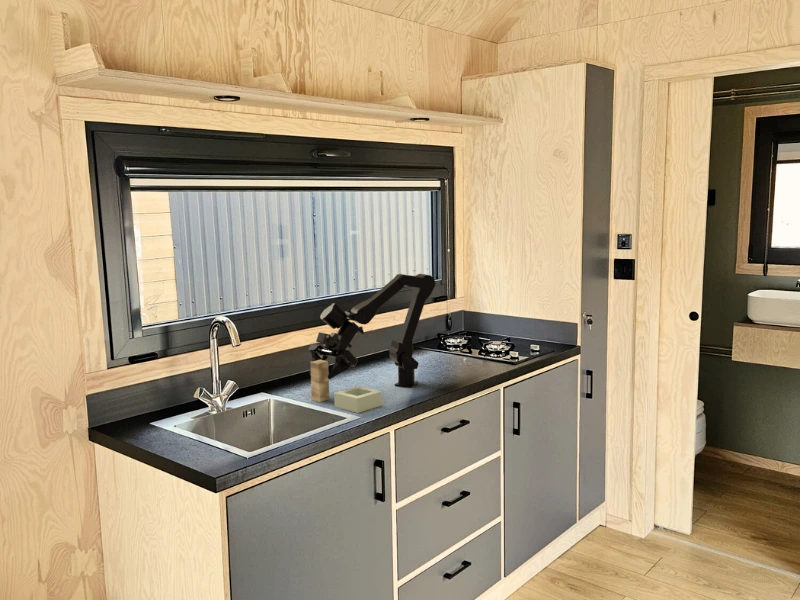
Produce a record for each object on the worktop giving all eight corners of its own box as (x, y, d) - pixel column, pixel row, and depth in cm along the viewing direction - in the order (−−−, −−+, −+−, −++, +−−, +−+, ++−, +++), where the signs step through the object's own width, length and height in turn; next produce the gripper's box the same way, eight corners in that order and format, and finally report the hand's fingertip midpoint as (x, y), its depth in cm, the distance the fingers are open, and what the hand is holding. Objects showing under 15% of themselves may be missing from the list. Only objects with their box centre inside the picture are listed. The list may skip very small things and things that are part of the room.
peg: (321, 397, 233) (320, 359, 232) (329, 399, 231) (328, 361, 229) (311, 399, 231) (310, 361, 229) (319, 401, 228) (318, 363, 226)
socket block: (359, 399, 229) (358, 386, 229) (382, 405, 222) (381, 391, 222) (334, 406, 222) (334, 392, 221) (357, 413, 215) (357, 398, 214)
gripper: (311, 319, 238) (286, 357, 231) (349, 325, 225) (323, 366, 218) (330, 339, 244) (306, 377, 238) (368, 346, 231) (343, 386, 225)
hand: (319, 376), depth 229 cm, fingers open, 9 cm apart
